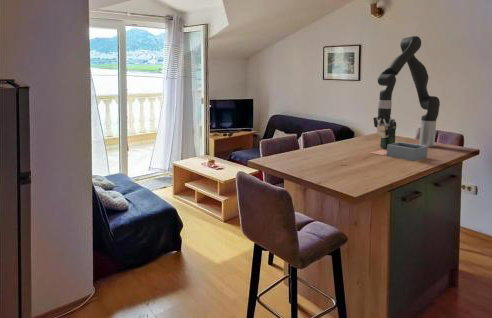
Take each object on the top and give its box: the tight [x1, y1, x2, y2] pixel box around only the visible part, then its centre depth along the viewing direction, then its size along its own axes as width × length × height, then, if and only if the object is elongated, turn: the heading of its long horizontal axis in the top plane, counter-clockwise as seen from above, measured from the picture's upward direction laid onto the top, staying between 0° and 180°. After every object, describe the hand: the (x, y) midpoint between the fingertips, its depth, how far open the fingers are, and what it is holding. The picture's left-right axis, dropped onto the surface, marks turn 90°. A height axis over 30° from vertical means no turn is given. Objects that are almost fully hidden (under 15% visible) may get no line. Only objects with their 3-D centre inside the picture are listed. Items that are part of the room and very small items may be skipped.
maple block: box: [376, 125, 389, 139], centre depth 254 cm, size 5×5×7 cm
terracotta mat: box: [369, 149, 387, 157], centre depth 257 cm, size 12×9×1 cm
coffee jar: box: [379, 121, 397, 150], centre depth 270 cm, size 10×8×19 cm
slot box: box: [386, 141, 429, 162], centre depth 246 cm, size 14×18×7 cm
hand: (382, 134), depth 255 cm, fingers closed on maple block, 5 cm apart
